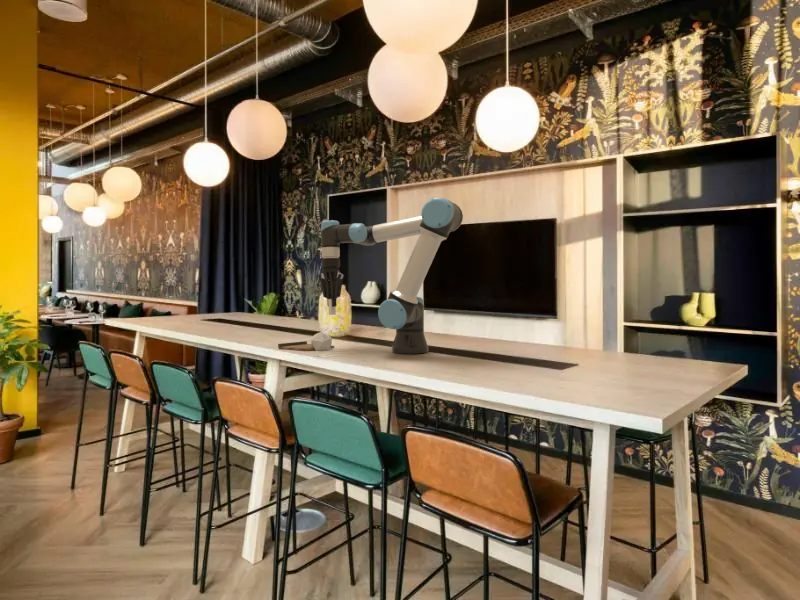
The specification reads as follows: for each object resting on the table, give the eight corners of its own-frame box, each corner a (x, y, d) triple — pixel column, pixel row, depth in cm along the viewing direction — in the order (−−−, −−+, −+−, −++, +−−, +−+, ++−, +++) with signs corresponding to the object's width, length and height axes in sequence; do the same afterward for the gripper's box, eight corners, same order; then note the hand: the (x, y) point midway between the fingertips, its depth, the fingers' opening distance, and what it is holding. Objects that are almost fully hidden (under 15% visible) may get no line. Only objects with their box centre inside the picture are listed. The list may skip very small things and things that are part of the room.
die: (331, 340, 222) (316, 325, 226) (317, 356, 223) (302, 341, 226) (340, 343, 230) (325, 329, 234) (326, 359, 231) (311, 344, 234)
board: (334, 348, 236) (334, 343, 236) (307, 351, 223) (307, 345, 223) (305, 346, 246) (305, 341, 246) (278, 348, 234) (278, 343, 234)
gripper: (348, 257, 225) (349, 314, 225) (325, 259, 232) (327, 314, 232) (336, 256, 219) (337, 314, 219) (313, 258, 226) (314, 315, 226)
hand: (332, 314), depth 225 cm, fingers closed
